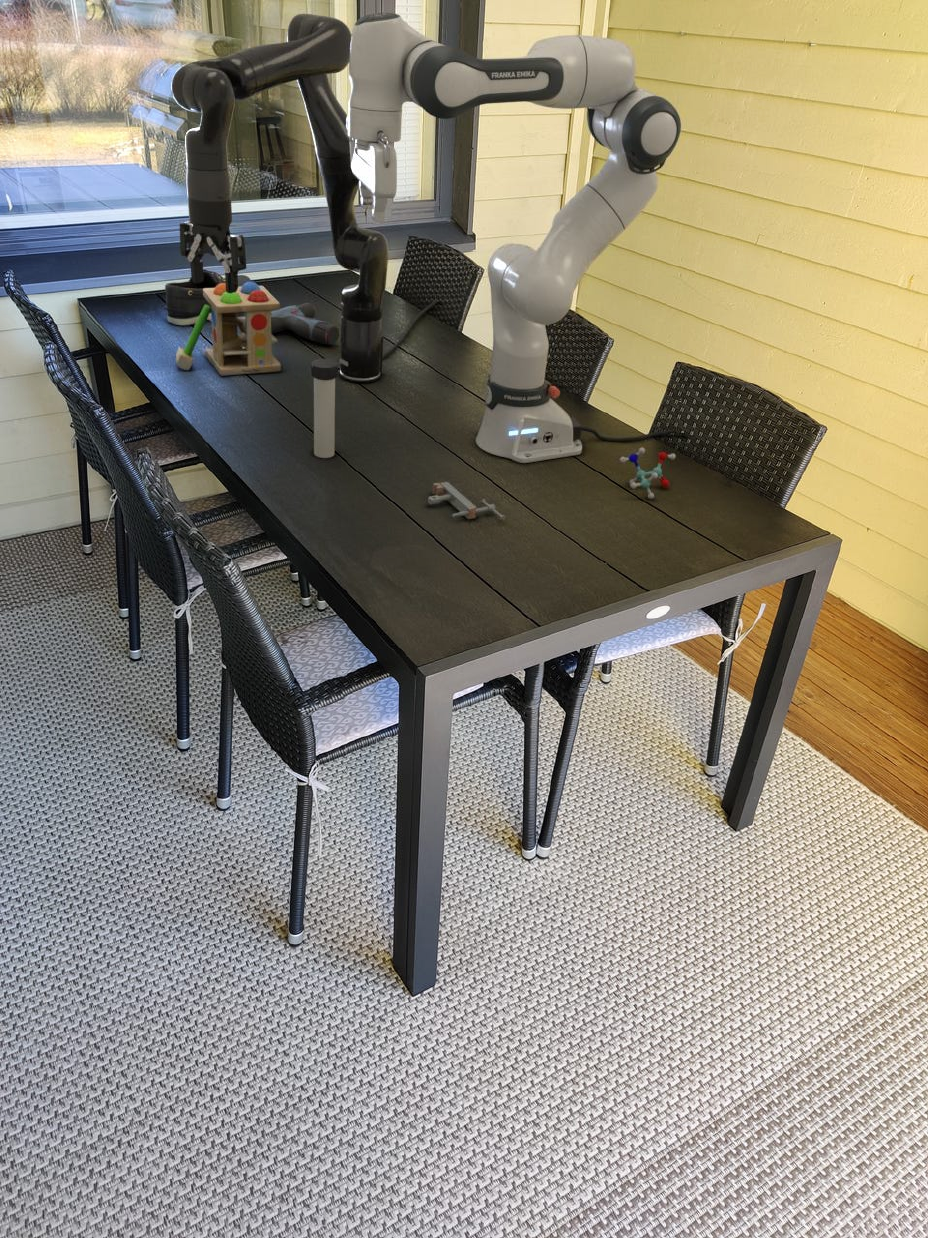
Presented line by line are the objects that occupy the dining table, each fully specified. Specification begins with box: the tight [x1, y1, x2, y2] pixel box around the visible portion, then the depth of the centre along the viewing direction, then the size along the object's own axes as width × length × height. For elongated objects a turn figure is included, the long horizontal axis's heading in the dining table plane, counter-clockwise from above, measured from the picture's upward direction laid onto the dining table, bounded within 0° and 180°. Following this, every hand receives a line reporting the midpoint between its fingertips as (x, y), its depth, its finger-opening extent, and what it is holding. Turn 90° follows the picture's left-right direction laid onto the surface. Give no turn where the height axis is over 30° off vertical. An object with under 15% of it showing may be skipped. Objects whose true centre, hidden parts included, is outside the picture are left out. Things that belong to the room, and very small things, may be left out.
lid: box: [310, 358, 339, 380], centre depth 186 cm, size 5×5×2 cm
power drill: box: [271, 302, 340, 346], centre depth 252 cm, size 5×19×20 cm
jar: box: [313, 377, 336, 459], centre depth 190 cm, size 4×4×18 cm
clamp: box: [427, 481, 506, 521], centre depth 180 cm, size 15×2×10 cm
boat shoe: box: [164, 268, 253, 326], centre depth 260 cm, size 13×33×10 cm, turn 147°
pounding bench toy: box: [174, 281, 282, 377], centre depth 225 cm, size 23×14×18 cm, turn 116°
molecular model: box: [619, 447, 676, 500], centre depth 192 cm, size 12×10×10 cm
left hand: (214, 287), depth 183 cm, fingers open, 8 cm apart
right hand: (372, 214), depth 171 cm, fingers open, 8 cm apart
